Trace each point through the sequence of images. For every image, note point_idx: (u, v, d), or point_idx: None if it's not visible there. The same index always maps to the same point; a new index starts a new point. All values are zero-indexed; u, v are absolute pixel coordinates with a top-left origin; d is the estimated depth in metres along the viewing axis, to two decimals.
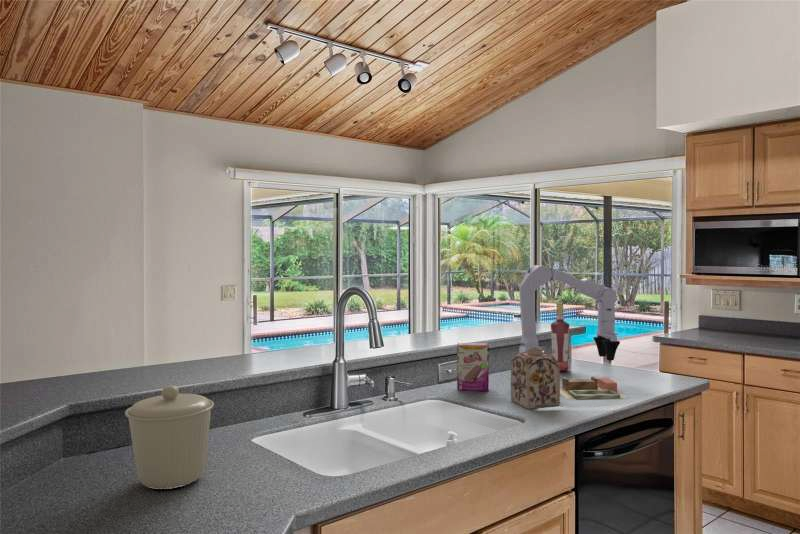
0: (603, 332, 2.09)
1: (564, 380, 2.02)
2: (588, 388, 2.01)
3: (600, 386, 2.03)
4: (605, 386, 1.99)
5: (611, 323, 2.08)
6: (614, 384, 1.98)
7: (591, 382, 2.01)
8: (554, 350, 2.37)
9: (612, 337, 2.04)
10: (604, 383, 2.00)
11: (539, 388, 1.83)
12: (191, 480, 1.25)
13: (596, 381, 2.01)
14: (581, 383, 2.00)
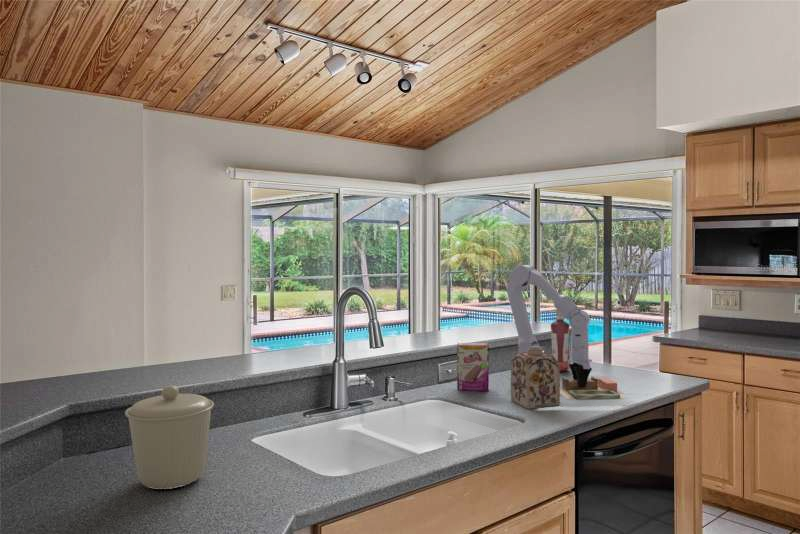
0: (576, 359, 2.00)
1: (564, 380, 2.02)
2: (588, 388, 2.01)
3: (600, 386, 2.03)
4: (605, 386, 1.99)
5: (584, 349, 1.99)
6: (614, 384, 1.98)
7: (591, 382, 2.01)
8: (554, 350, 2.37)
9: (585, 365, 1.95)
10: (604, 383, 2.00)
11: (539, 388, 1.83)
12: (191, 480, 1.25)
13: (596, 381, 2.01)
14: None
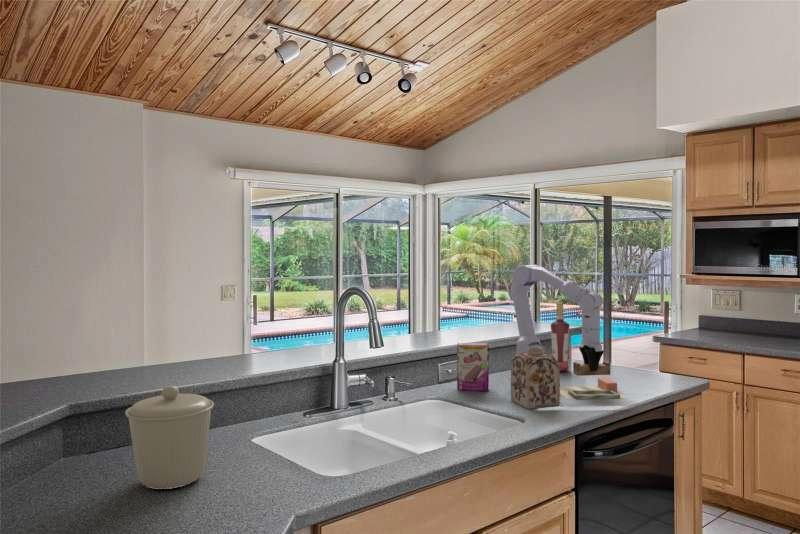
0: (587, 341, 1.92)
1: (575, 365, 1.94)
2: (600, 373, 1.93)
3: (600, 386, 2.03)
4: (605, 386, 1.99)
5: (596, 331, 1.92)
6: (614, 384, 1.98)
7: (603, 366, 1.93)
8: (554, 350, 2.37)
9: (597, 347, 1.87)
10: (604, 383, 2.00)
11: (539, 388, 1.83)
12: (191, 480, 1.25)
13: (608, 365, 1.93)
14: None
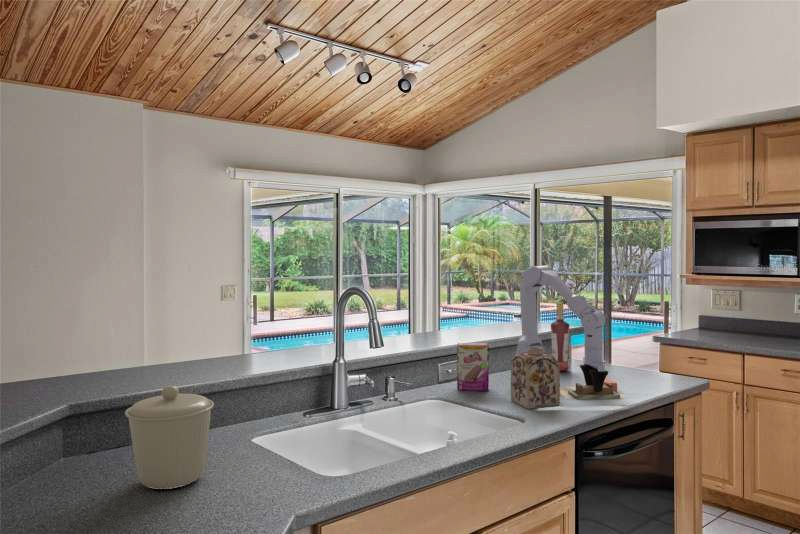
0: (590, 361, 1.91)
1: (578, 386, 1.93)
2: None
3: None
4: None
5: (599, 351, 1.90)
6: (614, 384, 1.98)
7: (606, 388, 1.91)
8: (554, 350, 2.37)
9: (599, 367, 1.86)
10: (604, 383, 2.00)
11: (539, 388, 1.83)
12: (191, 480, 1.25)
13: (611, 387, 1.91)
14: None
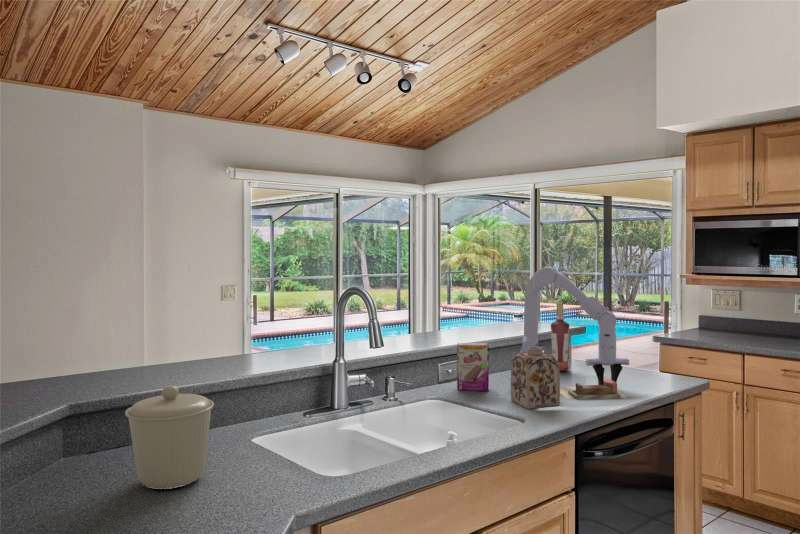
0: None
1: (578, 386, 1.93)
2: None
3: None
4: None
5: (600, 349, 2.00)
6: (614, 384, 1.98)
7: (606, 388, 1.91)
8: (554, 350, 2.37)
9: None
10: (604, 383, 2.00)
11: (539, 388, 1.83)
12: (191, 480, 1.25)
13: (611, 387, 1.91)
14: (596, 389, 1.91)
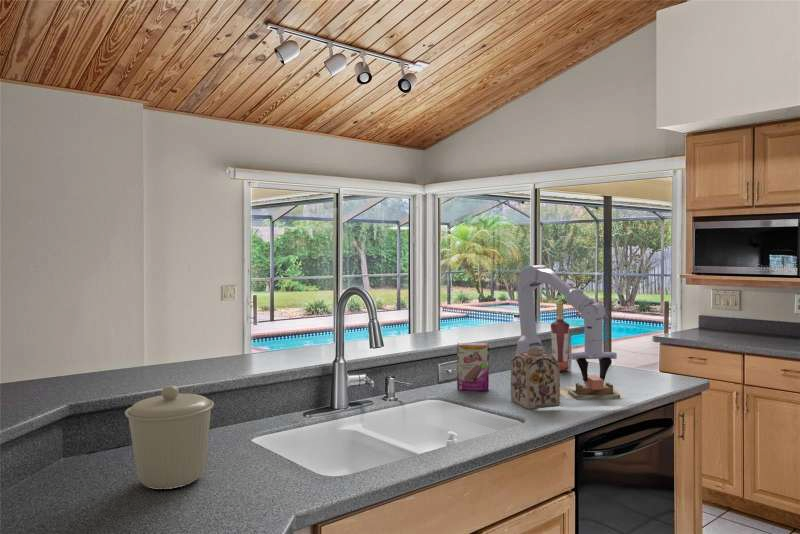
0: None
1: (578, 386, 1.93)
2: None
3: (586, 383, 1.95)
4: (591, 383, 1.91)
5: (586, 342, 1.92)
6: (600, 381, 1.89)
7: (606, 388, 1.91)
8: (554, 350, 2.37)
9: (571, 354, 1.93)
10: (590, 380, 1.91)
11: (539, 388, 1.83)
12: (191, 480, 1.25)
13: (611, 387, 1.91)
14: None
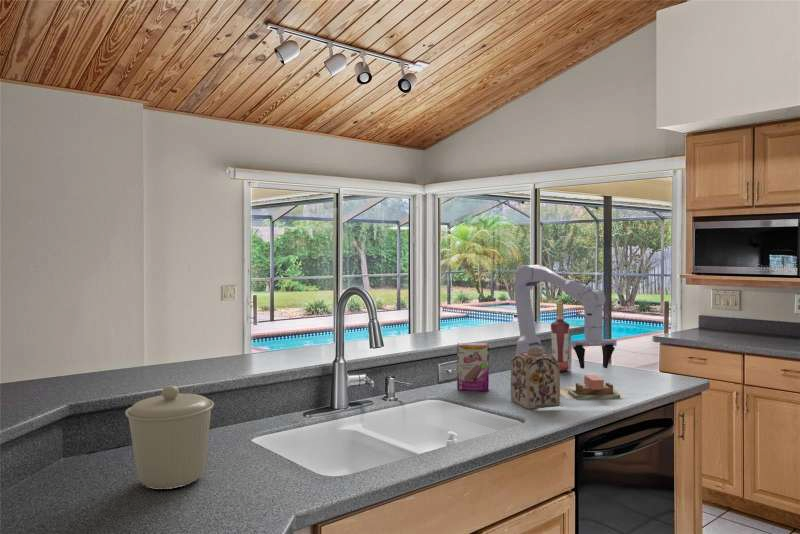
0: None
1: (578, 386, 1.93)
2: None
3: (586, 383, 1.95)
4: (591, 383, 1.91)
5: (586, 329, 1.92)
6: (600, 381, 1.89)
7: (606, 388, 1.91)
8: (554, 350, 2.37)
9: (571, 341, 1.93)
10: (590, 380, 1.91)
11: (539, 388, 1.83)
12: (191, 480, 1.25)
13: (611, 387, 1.91)
14: None
